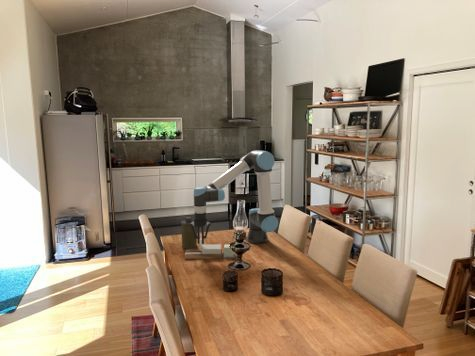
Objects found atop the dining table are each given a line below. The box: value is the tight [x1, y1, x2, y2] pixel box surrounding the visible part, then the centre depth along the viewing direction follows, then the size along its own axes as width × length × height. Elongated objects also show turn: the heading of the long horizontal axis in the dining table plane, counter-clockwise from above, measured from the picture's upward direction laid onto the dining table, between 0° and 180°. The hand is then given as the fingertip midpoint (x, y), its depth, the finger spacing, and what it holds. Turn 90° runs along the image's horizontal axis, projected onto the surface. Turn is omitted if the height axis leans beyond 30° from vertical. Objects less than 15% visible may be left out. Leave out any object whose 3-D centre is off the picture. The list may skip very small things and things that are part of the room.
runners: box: [184, 248, 223, 260], centre depth 240 cm, size 9×23×3 cm, turn 91°
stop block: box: [223, 244, 235, 257], centre depth 240 cm, size 6×6×6 cm
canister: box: [180, 216, 198, 249], centre depth 259 cm, size 11×10×20 cm
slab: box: [202, 243, 222, 254], centre depth 240 cm, size 9×12×3 cm
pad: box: [222, 252, 237, 259], centre depth 241 cm, size 10×8×1 cm
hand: (201, 248), depth 240 cm, fingers closed
